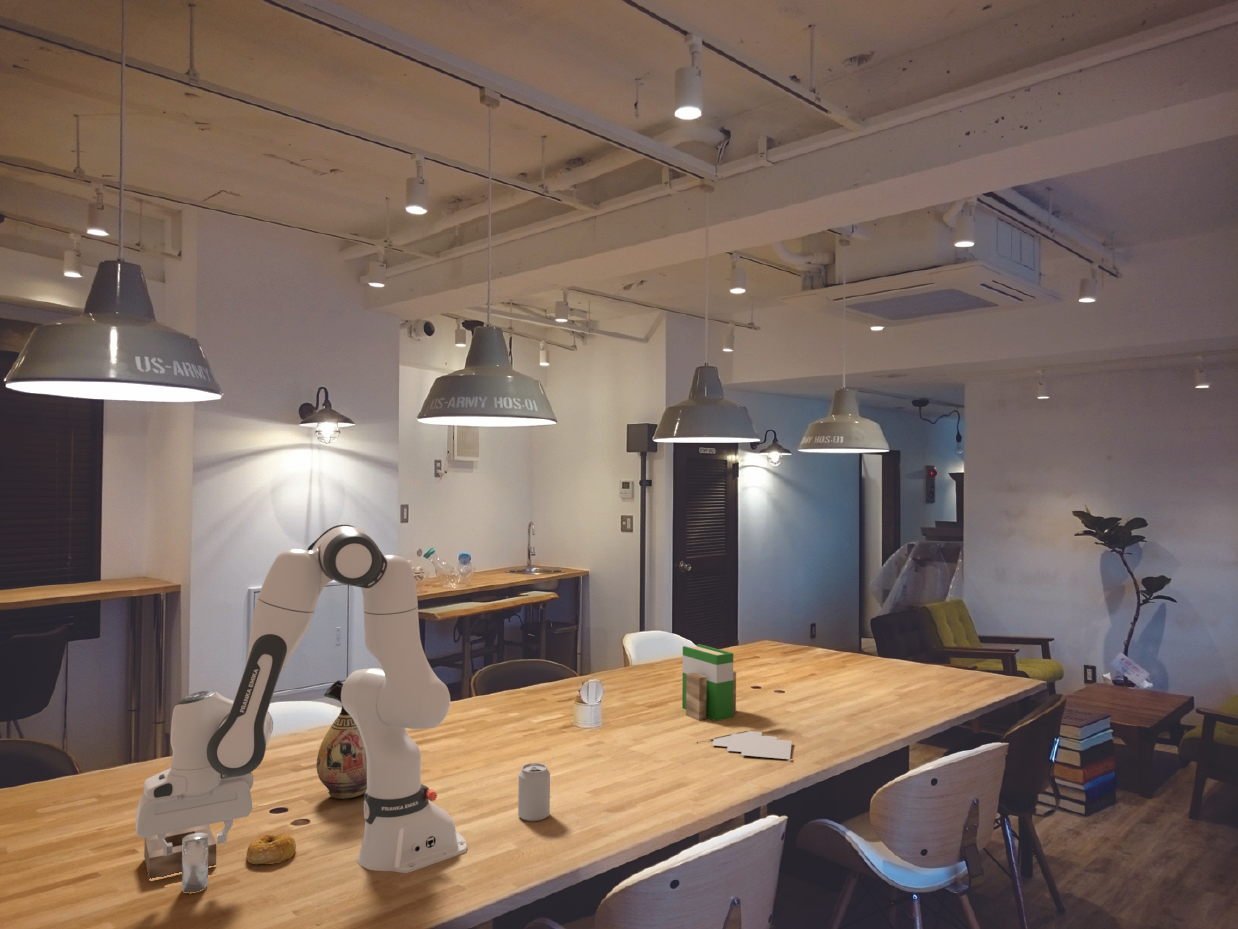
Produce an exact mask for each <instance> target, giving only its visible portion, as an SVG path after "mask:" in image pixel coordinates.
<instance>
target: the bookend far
mask: <svg viewBox="0 0 1238 929" xmlns="http://www.w3.org/2000/svg"><path fill="white" fill-rule="evenodd" d="M736 711H737V671H734V670H733V714H736Z"/></svg>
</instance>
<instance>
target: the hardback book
mask: <svg viewBox="0 0 1238 929" xmlns="http://www.w3.org/2000/svg"><path fill="white" fill-rule="evenodd" d="M733 671H734V653H733V652H729V651H727V650H724V649H723V650H722V649H718V648H715V647H712V646H708V645H704V644H699V643H697V644H696V646H694V647H689V646H686V645H684V646H682V684H681V685H682V687H681V688H682V693H681V695H682V701H681V702H682V703H681V704H682V709H683V710H686V673H692V672H694V673H697V674H700V675H703V676H706V677H707V681H706V719H707V718H708V719H710V720H712V721H715V722H716V721H717V722H718V721H723V720H726V719H731V718H733V717H734V713H733Z"/></svg>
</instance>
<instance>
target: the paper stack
mask: <svg viewBox="0 0 1238 929" xmlns="http://www.w3.org/2000/svg"><path fill="white" fill-rule="evenodd" d="M762 733H763V732H762V731H752V730H745V731H739V732H736V733H731V734H726V735H722V736H717V737H714V739H713V741H712V746H717V747H726V748H727V749H726V751H727V752H728V751H729V752H737V753H738V752H740V754H741V756H747V757H748V756H750V757H756V758H757V757H758V758H759V757H760V758H769V759H770V758H771V759H772V758H773V759H782V760H791V754H792V751H791V750H792V742H793V741H792V740H786V739H785V740H784V739H778V737H777V736H773V735H772V736H771V735H770V736H769V735H763V734H762Z"/></svg>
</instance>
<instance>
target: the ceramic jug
mask: <svg viewBox="0 0 1238 929" xmlns="http://www.w3.org/2000/svg"><path fill="white" fill-rule="evenodd" d="M343 684H344V682H342V681H341V680H340V679H339V680H338V679H337V680H336V681H335V682H334V683H333V684H332V685H331V686H330V687H328V689H327V690H326V691H325V692H324V695H323V696H324V697H326V698H328V699H329V698H330V699H333V700H336V701H338V702H340V704H342V702H341V690H342V687H343ZM316 772H317V775H318V779H319V780H320V782H321V783H322V785H323V786H324V787H326V788H327V790H328V794H329V796H330V797H332V798H335V799H351V798H355V797H359V796H361V795H363V794H365V791H366V790H367V762H366V753H365V748H364V744H363V741H362V738H361V735H360V732H359V730H358V728H357V726H356V724H355V722H354V720H353V719H352V717H351V716H350V715H349V714H348V712H347V711H346V710H345V709H344V708H343V706H342V705H341V709H340V712H339V714H338V716H337V717H336V718H335V720H334V721H333V723H332V724H331V726H330V727H329V729H328V731H327V732H326V733H325V735H324V737H323V739H322V741H321V743H320V746H319V750H318V754H317V758H316Z"/></svg>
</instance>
